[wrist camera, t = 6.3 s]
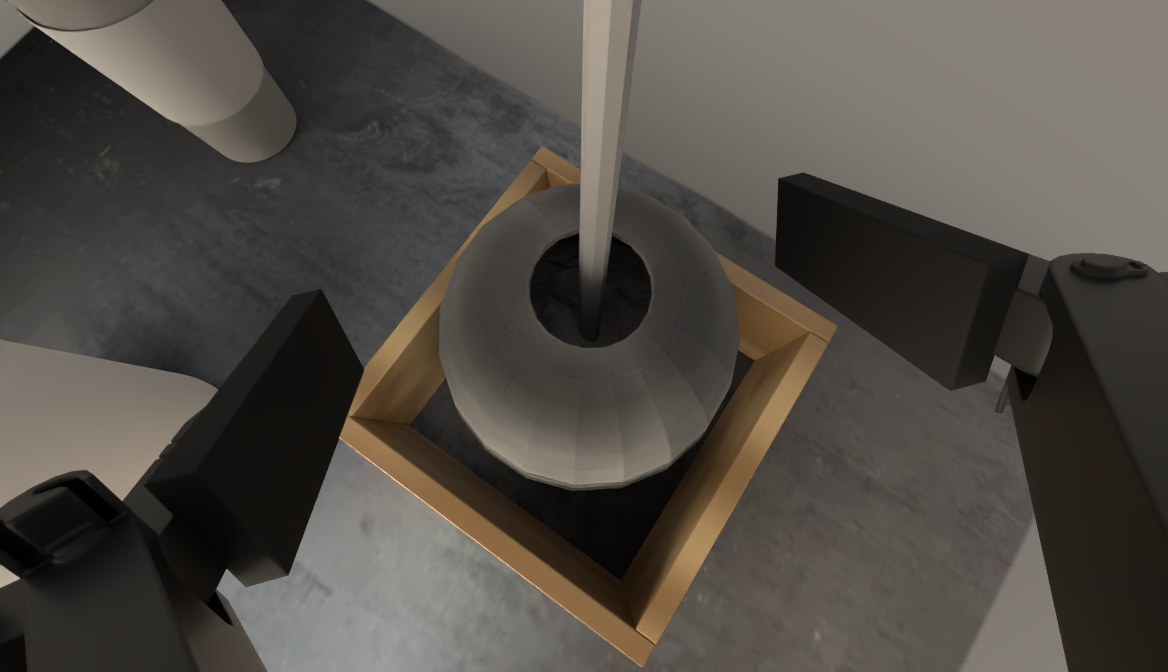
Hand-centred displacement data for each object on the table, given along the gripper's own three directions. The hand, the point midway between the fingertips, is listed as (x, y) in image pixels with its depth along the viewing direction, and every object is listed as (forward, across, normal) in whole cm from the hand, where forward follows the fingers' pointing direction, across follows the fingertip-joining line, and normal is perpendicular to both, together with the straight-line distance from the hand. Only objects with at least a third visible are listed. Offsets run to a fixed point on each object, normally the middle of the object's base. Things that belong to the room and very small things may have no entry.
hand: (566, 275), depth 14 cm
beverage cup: (+6, 0, -9) cm, 11 cm away
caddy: (+6, 0, -9) cm, 10 cm away
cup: (+19, -14, +4) cm, 24 cm away
